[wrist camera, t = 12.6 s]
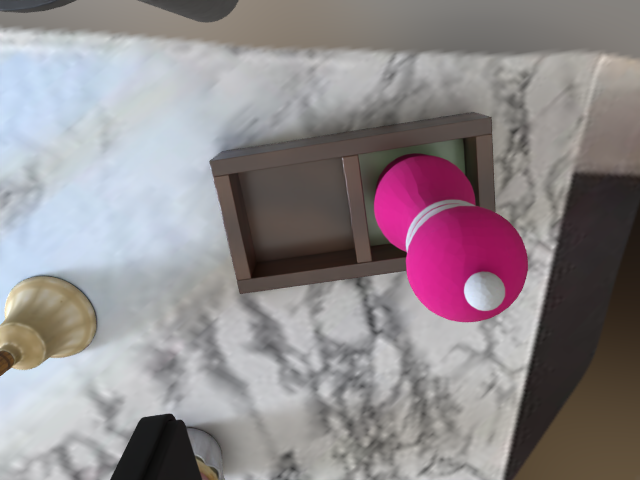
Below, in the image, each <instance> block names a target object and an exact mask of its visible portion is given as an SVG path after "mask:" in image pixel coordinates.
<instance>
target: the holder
mask: <svg viewBox="0 0 640 480" xmlns="http://www.w3.org/2000/svg"><path fill="white" fill-rule="evenodd" d="M413 153H421V154H426V155H429V156H436V157H440V158H443V159H446V160H448V161H450V162H451V163H453V164H454V165H456V166H457V167H458V168H459V169H460V170H461V171H462V172H463V173H464V174H465V176H466V177H467V179H468V180H469V181H470V183H471V185H472V188H473V191H474V194H475V206H479V207H482V208H485V209H489V210H491V211H493V212H495V190H494V167H493V143H492V119H491V117H489V116H486V115H482V114H479V113H475V112H471V113H465V114H458V115H452V116H446V117H439V118H433V119H427V120H420V121H414V122H408V123H401V124H395V125H388V126H382V127H376V128H369V129H363V130H357V131H350V132H344V133H338V134H331V135H325V136H318V137H312V138H306V139H299V140H293V141H287V142H280V143H274V144H268V145H261V146H255V147H248V148H242V149H236V150H229V151H223V152H221V153H219V154H218V155H217V156H215V157H214V158H213V159H212V160H210V166H211V171H212V175H213V179H214V183H215V188H216V192H217V196H218V201H219V205H220V209H221V214H222V218H223V222H224V227H225V231H226V236H227V240H228V244H229V249H230V253H231V257H232V262H233V266H234V270H235V275H236V279H237V283H238V288H239V292H240V294H243V293H250V292H258V291H265V290H272V289H279V288H286V287H293V286H301V285H308V284H315V283H322V282H329V281H336V280H344V279H351V278H358V277H365V276H372V275H380V274H387V273H394V272H401V271H407V269H406V257H407V252H405V251H403V250H401V249H399V248H397V247H396V246H395V245H393V244H392V243H391V242H389V240H388V239H387V238H386V237H385V236H384V234H383V232H382V231H381V229H380V227H379V226H378V224H377V221H376V218H375V213H374V199H375V191H376V185H377V181H378V178H379V176H380V174H381V173H382V171H383V170H384V168H385V167H386V166H387V165H388V164H389V163H390V162H392V161H393V160H395V159H396V158H398V157H400V156H403V155H406V154H413Z"/></svg>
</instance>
